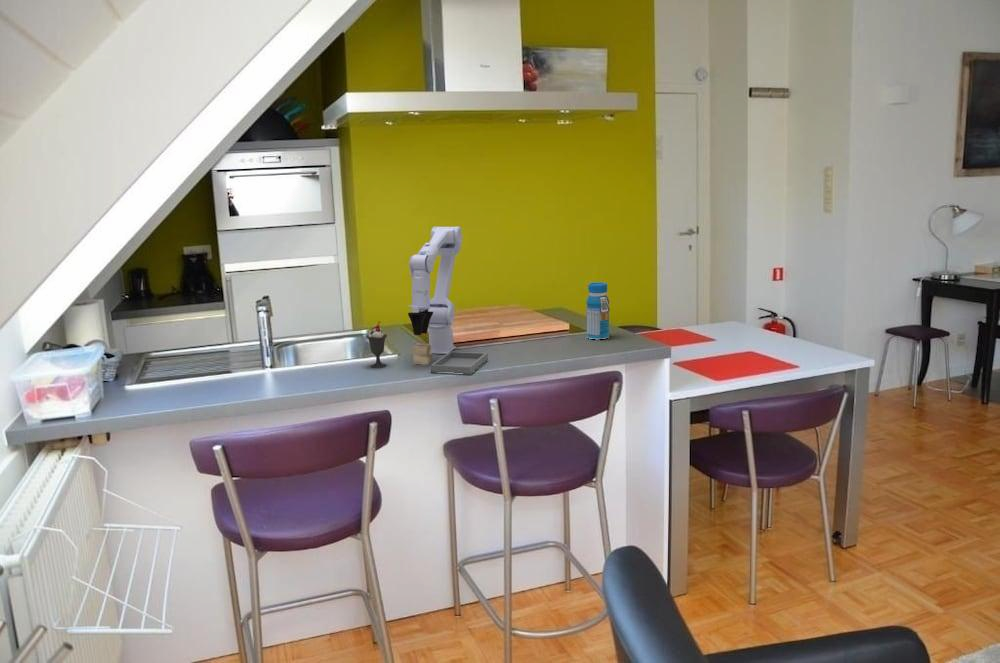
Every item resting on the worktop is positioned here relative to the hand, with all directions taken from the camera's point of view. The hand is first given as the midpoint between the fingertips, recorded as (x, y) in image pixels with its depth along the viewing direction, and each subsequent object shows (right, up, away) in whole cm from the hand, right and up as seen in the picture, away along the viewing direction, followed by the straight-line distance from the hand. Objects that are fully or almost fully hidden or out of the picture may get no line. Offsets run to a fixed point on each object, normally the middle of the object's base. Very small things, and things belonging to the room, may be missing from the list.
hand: (420, 334), depth 253 cm
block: (+1, -10, +3) cm, 10 cm away
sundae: (-14, -10, +1) cm, 17 cm away
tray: (+13, -10, -3) cm, 17 cm away
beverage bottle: (+61, -2, +31) cm, 69 cm away
